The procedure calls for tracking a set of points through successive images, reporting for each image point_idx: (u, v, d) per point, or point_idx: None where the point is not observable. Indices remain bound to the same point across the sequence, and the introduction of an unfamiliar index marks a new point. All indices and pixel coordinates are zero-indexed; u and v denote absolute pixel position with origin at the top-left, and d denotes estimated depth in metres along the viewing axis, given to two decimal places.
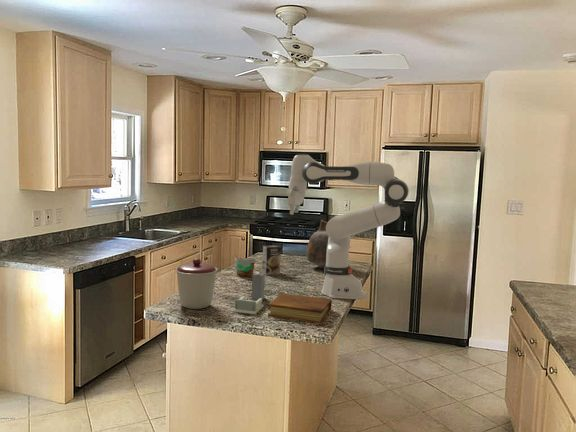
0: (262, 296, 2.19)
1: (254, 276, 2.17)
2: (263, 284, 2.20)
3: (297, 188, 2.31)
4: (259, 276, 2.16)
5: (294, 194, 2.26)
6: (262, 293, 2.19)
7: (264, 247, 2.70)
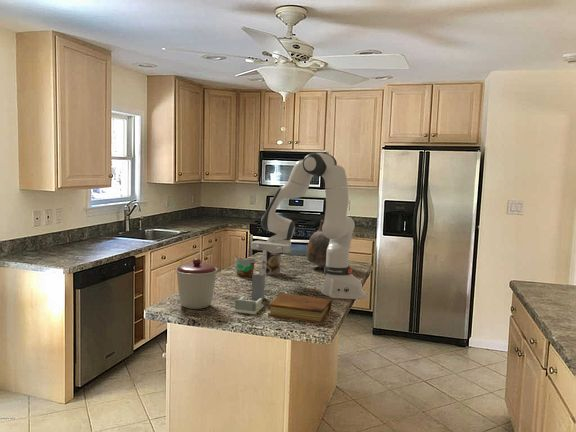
0: (262, 296, 2.19)
1: (254, 276, 2.17)
2: (263, 284, 2.20)
3: None
4: (259, 276, 2.16)
5: None
6: (262, 293, 2.19)
7: None
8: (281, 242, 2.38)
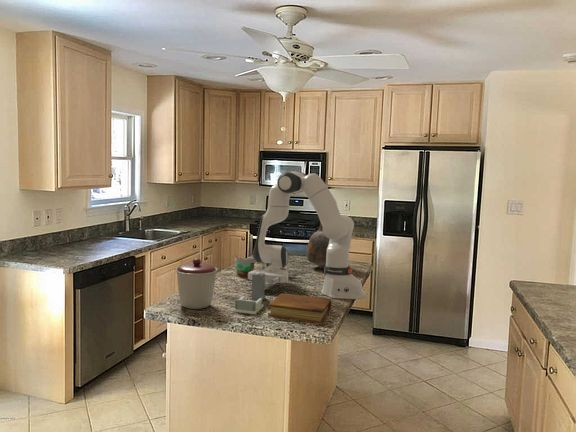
0: (262, 296, 2.19)
1: (254, 276, 2.17)
2: (263, 284, 2.20)
3: None
4: (259, 276, 2.16)
5: None
6: (262, 293, 2.19)
7: None
8: (278, 272, 2.37)
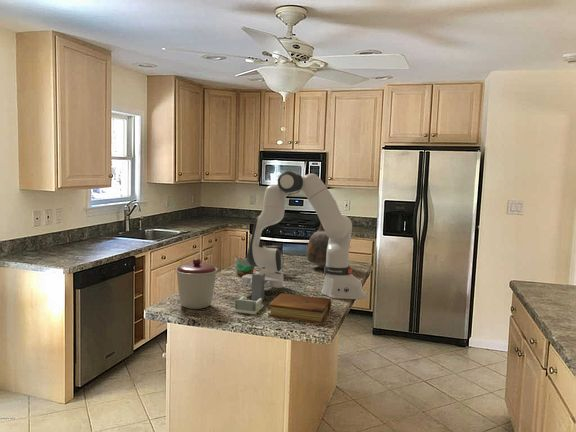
0: (262, 296, 2.19)
1: (254, 276, 2.17)
2: None
3: None
4: (259, 276, 2.16)
5: None
6: (262, 293, 2.19)
7: (264, 247, 2.70)
8: (273, 276, 2.28)
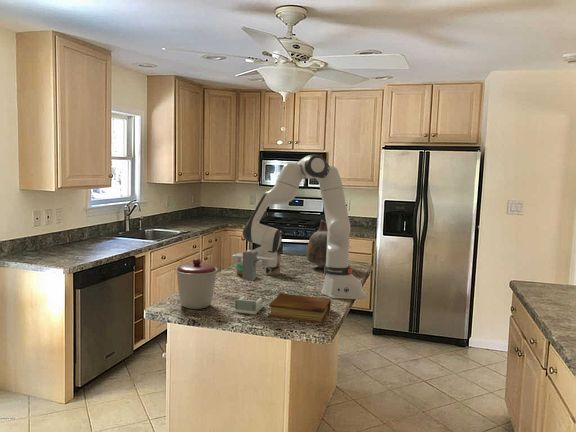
0: (253, 276, 2.03)
1: (245, 254, 2.01)
2: None
3: None
4: (250, 254, 2.00)
5: None
6: (254, 272, 2.03)
7: None
8: (266, 255, 2.11)
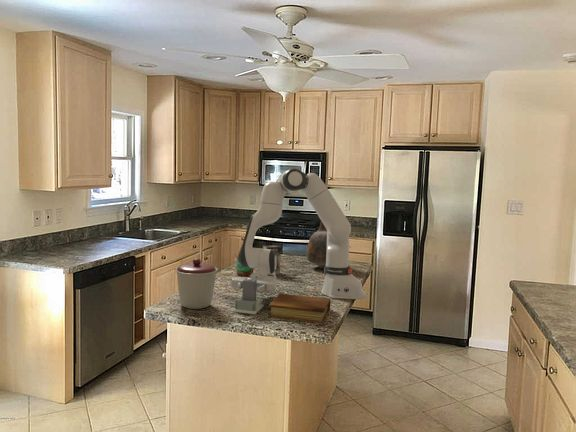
0: None
1: (245, 282, 2.01)
2: (255, 291, 2.04)
3: None
4: (250, 282, 2.01)
5: None
6: (253, 300, 2.03)
7: (264, 247, 2.70)
8: (265, 279, 2.12)
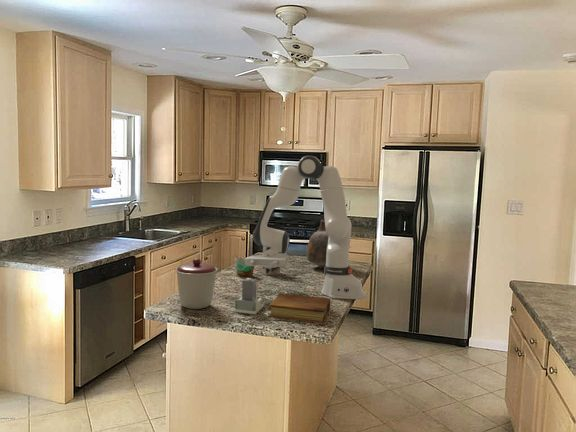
0: None
1: (244, 282, 2.01)
2: (254, 291, 2.04)
3: None
4: (250, 282, 2.01)
5: None
6: (253, 300, 2.03)
7: (264, 247, 2.70)
8: (277, 256, 2.25)
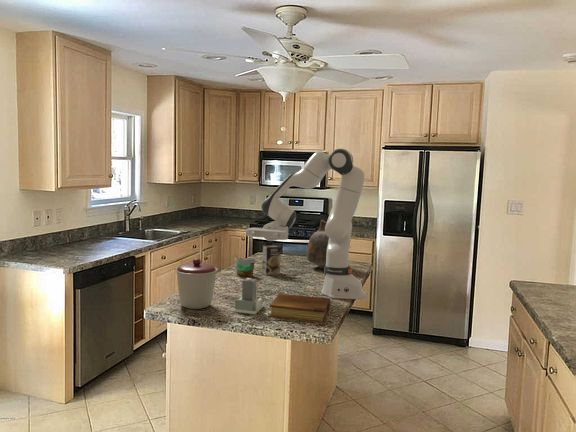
0: None
1: (244, 282, 2.01)
2: (254, 291, 2.04)
3: None
4: (250, 282, 2.01)
5: None
6: (253, 300, 2.03)
7: (264, 247, 2.70)
8: (278, 229, 2.27)
